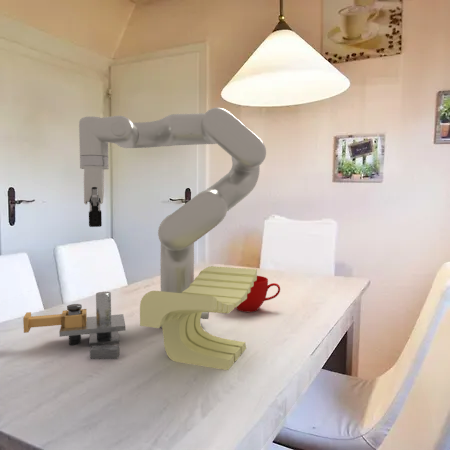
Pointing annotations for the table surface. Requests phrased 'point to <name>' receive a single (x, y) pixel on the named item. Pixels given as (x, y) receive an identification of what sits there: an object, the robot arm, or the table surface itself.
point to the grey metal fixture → (100, 323)
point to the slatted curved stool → (199, 316)
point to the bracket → (55, 320)
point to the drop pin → (74, 310)
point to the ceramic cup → (257, 295)
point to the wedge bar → (105, 352)
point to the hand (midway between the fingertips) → (95, 225)
